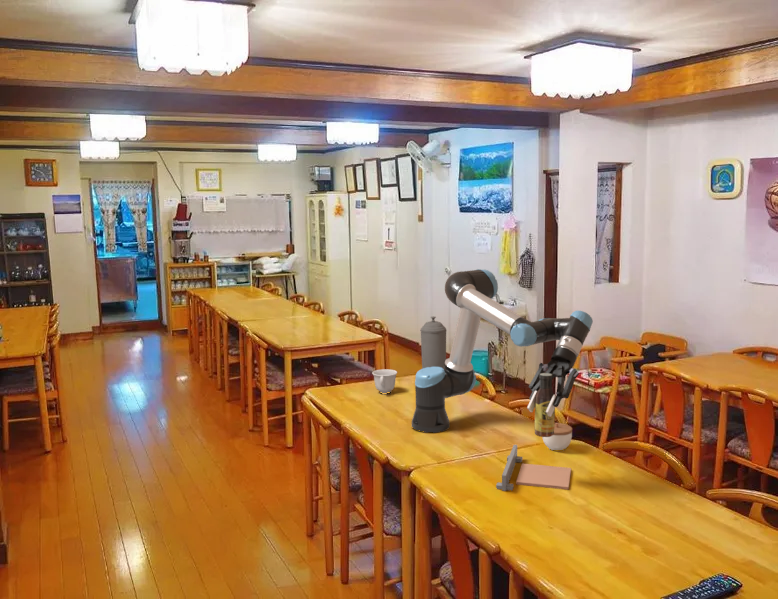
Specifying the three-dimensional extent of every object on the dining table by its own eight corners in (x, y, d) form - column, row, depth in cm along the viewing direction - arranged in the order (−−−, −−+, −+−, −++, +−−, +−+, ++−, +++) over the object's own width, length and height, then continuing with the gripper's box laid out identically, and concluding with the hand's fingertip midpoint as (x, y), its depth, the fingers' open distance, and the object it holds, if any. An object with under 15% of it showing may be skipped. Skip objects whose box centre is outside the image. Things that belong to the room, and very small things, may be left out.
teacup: (369, 397, 316) (368, 376, 315) (375, 389, 331) (374, 368, 329) (394, 398, 314) (394, 377, 313) (399, 389, 329) (399, 369, 327)
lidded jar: (574, 445, 249) (574, 420, 247) (569, 455, 239) (569, 429, 238) (544, 441, 253) (545, 417, 252) (538, 451, 244) (538, 425, 242)
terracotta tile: (516, 484, 215) (516, 481, 215) (522, 465, 230) (522, 463, 230) (568, 489, 210) (568, 487, 210) (570, 470, 226) (571, 468, 225)
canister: (448, 384, 336) (447, 314, 331) (445, 391, 324) (445, 318, 319) (422, 383, 338) (421, 314, 333) (419, 390, 326) (418, 318, 321)
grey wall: (495, 490, 211) (495, 474, 211) (508, 457, 238) (508, 444, 237) (512, 491, 210) (512, 476, 209) (522, 459, 236) (522, 445, 235)
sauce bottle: (543, 439, 214) (543, 377, 212) (530, 433, 220) (530, 373, 217) (559, 435, 217) (559, 374, 214) (546, 430, 223) (546, 371, 220)
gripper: (536, 342, 228) (508, 400, 219) (589, 349, 215) (561, 411, 206) (545, 355, 233) (518, 412, 224) (596, 363, 220) (570, 424, 210)
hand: (538, 412), depth 215 cm, fingers closed on sauce bottle, 6 cm apart
